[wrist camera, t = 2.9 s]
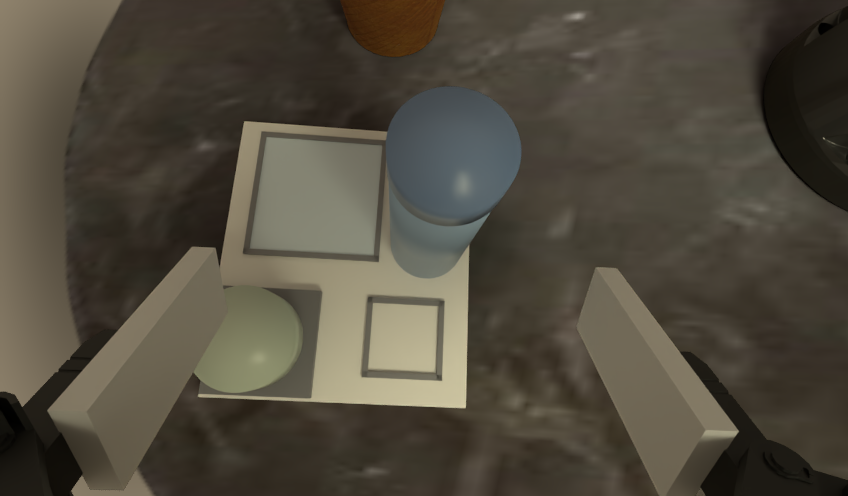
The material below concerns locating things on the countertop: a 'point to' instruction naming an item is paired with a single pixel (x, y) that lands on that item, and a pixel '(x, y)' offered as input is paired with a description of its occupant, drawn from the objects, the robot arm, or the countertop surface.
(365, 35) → the disposable coffee cup
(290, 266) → the sheet
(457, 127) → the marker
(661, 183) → the countertop surface
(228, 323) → the button
